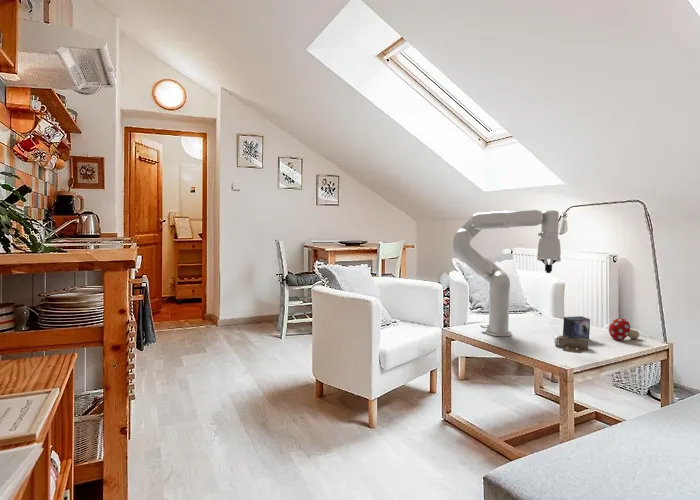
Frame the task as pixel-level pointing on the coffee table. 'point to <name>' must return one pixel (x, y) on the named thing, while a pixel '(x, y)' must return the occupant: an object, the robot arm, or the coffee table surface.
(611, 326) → the decorative mushroom
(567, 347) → the hinge
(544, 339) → the coffee table surface
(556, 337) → the hinge pin
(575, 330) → the small box
